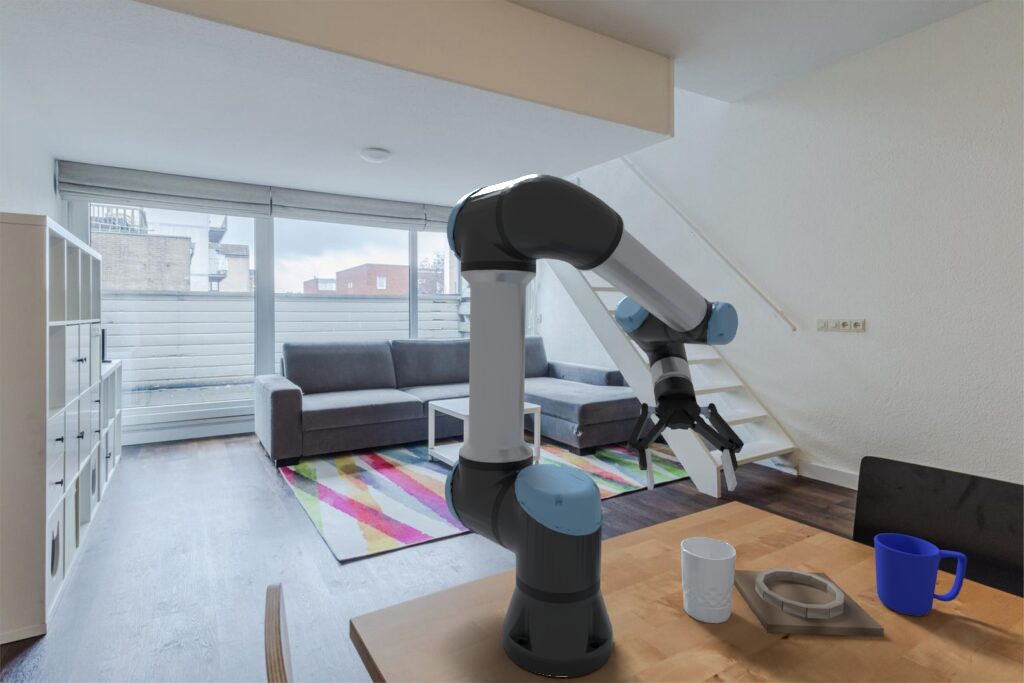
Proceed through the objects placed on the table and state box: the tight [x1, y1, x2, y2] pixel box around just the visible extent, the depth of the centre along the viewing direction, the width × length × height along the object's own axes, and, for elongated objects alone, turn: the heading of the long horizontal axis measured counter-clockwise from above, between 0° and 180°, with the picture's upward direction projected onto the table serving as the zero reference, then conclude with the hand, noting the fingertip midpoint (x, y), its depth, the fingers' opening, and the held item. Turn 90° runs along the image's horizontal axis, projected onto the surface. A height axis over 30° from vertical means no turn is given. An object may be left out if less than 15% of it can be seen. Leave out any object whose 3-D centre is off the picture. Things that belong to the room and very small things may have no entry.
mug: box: [873, 532, 968, 617], centre depth 82 cm, size 8×12×10 cm
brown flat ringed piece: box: [734, 567, 885, 638], centre depth 83 cm, size 16×16×3 cm
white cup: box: [680, 536, 737, 624], centre depth 81 cm, size 8×8×10 cm
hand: (691, 487), depth 91 cm, fingers open, 13 cm apart
